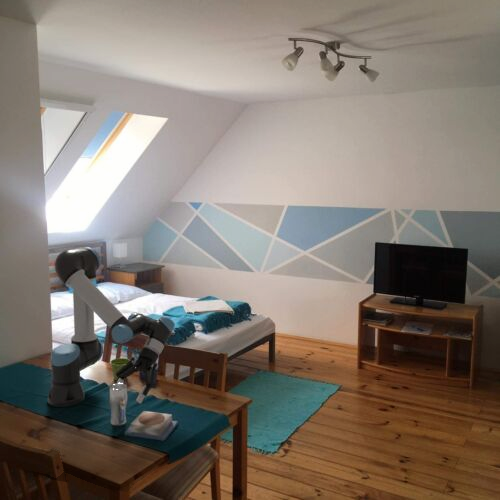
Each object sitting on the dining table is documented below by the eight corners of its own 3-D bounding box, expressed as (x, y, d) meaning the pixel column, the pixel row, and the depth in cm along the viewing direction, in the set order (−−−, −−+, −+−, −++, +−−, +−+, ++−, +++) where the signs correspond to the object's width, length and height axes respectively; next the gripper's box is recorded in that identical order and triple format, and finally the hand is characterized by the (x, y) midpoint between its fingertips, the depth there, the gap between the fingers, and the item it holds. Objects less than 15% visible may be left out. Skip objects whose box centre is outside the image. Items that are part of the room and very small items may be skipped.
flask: (158, 379, 261) (158, 358, 260) (155, 381, 258) (155, 360, 257) (141, 377, 264) (140, 356, 262) (138, 379, 261) (138, 358, 259)
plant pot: (134, 378, 262) (134, 360, 261) (120, 384, 255) (120, 366, 253) (120, 373, 267) (120, 356, 266) (106, 379, 260) (106, 362, 258)
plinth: (130, 431, 206) (130, 423, 206) (143, 417, 218) (143, 410, 217) (160, 435, 203) (160, 427, 203) (172, 421, 215) (172, 414, 215)
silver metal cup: (122, 427, 212) (122, 390, 210) (106, 425, 213) (105, 388, 211) (130, 419, 219) (130, 383, 217) (114, 417, 220) (113, 382, 218)
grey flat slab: (124, 435, 206) (124, 432, 206) (140, 419, 219) (140, 416, 219) (164, 440, 202) (164, 437, 202) (177, 424, 216) (177, 421, 216)
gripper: (178, 361, 222) (153, 409, 212) (134, 350, 236) (108, 394, 225) (170, 352, 217) (144, 401, 207) (124, 341, 230) (98, 386, 220)
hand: (125, 398), depth 216 cm, fingers open, 13 cm apart
